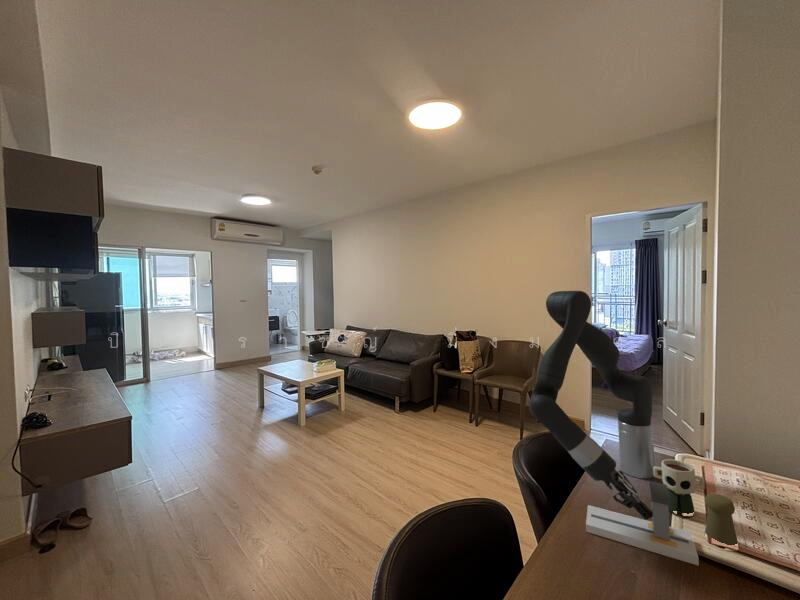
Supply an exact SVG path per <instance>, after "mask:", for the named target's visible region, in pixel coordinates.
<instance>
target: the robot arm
mask: <svg viewBox="0 0 800 600" xmlns="http://www.w3.org/2000/svg"><path fill="white" fill-rule="evenodd" d="M545 306H546V307H545V308H546V310H547V312H548V315H549V316H550V317H551V319H552V321H553V320H554V322H555V323H556V324H557V325H558V326H559V327H560V328H561V329H562V331H561V332H560V334H559V335H558V336H557V338H556V339H555V340H554V342H553V343H552V344H551V345H550V346H549V347H548V348H547V349H546V350H545V352H544V354H543V357H542V358H541V360H540V363H539V364H540V365H539V369H538V373H537V376H536V377H537V378H536V380H535V381H536V382H535V385H534V387H533V390H532V393H531V395H530V398H529V402H528V409H529V412H530V413H531V415H532V416H533V417H534V418H535V419H536V420H537V421H539V423H540V424H541V425H543V426H544V427H545V428H546V429H547V430H548V431H549V433H551V434H552V435H553V437H554V438H555V440H556V441H558V443H559V444H560V445H561V446H562V447H563V448H564V450H565V451H567V452H568V454H569V455H570V456H571V457H572V459H573V460H574V461H575V462H576V463H577V464H578V465H579V466H580V467H581V469H583V470H584V471H585V472H586V473H587V474H588V476H589V477H590V478H591V479H593V481H596V482H600V481H602V482H604V484H605V485H606V487H607V489H608V490H609V491H611V492H613V494H614V495H613V496H612V498H613V500H614V501H616V502H617V503H619V504H621V505H622V506H624V507H626V508H628V509H630V510H631V509H632V508H634V509H635V511H636V512H638V513H639V515H640V516H641V517H642V519H643V520H647V521H648V520H650V519H652V517H653V515H652V510H651V508H649V507H648V506H647V505H646V504H645V503H644V502H643V501H642V500H641V498H640V496H639V495H638V491H637V489H635V487H634V486H633V485H632V483H631V482H630V480H629V479H628V477H626V475H629V476H630V477H634V478H637V479H651V478H653V477H654V473H653V467H654V466H656V463H655V447H654V446H655V445H654V444H653V439H652V435H653V434H652V416H653V386H652V383H651V380H650V379H649V378H648V377H646V376H641V375H636V374H630V373H625V372H624V371H622V370H620V368H619V367H618V363H619V362H620V361H619V360H620V355H621V354H620V350H619V348H618V347H617V345H616V344H615V343H614V341H613V340H612V338H611V336H609V335H608V334H607V333H606V332H604V331H603V330H602V329H600V328H599V327H596V326H595V325H593V324H591V323H589V322H588V318H589V316H590V313H591V308H592V301H591V298H590V295H589V294H588V293H587V292H585V291H582V290H560V291H554V292H551V293H550V294H549V295H548V296H547V298H546V301H545ZM576 345H577V346H578V348H579V349H580V350H581V351H582V353H583V354H584V355H585V357H586V358H587V359H588V360H589V362H590V363H591V364H592V366H594V368H595V369H596V371H597V372H598V373H599V375H600V376H601V377H602V379H603V381H604V382H605V383H606V385H607V387H608V389H609V390H610V392H611V393H612V394H613V396H614V397H616V398H618V399H619V400H622V401H626V402H630V403H632V408H625V409H624V408H623V409H619V410H618V412H617V425H618V446H619V447H618V448H619V449H618V451H619V469H620V470H618V471H617V469H616V467H617V462H616V460H615V459H614V458H612V457H611V455H610V454H608V452H607V451H605V450H604V449H603V447H601V445H599V444H598V442H597V441H596V440H594V439H593V438H592V437H590V435H588V434H587V433H586V432H585V431H584V430H583V429H582V428H581V427H580V426H579V425H578V424H577V423H576V422H575V421H573V420H572V419H571V418H570V417H569V416H568V414H567V413H565V411H564V410H563V409H562V408H561V406H559V404H558V403H557V398H558V395H559V391H560V390H561V389H562V387H563V385H564V381H565V377H566V375H567V374H566V373H567V369H568V365H569V362H570V359H571V358H572V357H571V356H572V354H573V352H574V350H575V347H576ZM625 474H626V475H625Z"/></svg>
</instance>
